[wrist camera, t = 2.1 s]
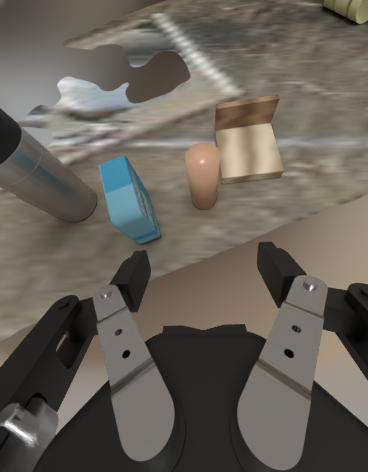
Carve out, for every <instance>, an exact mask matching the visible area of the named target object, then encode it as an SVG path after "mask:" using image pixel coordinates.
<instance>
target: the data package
mask: <svg viewBox="0 0 368 472" xmlns="http://www.w3.org/2000/svg"><path fill="white" fill-rule="evenodd" d="M99 170H100V175H101V180H102V184H103V189H104V194H105V198H106V203H107V208H108V212H109V216H110V219H111V221H112V223H113V225H114V226H115V227H116V228H117V229H119V230H120V231H122V232H123V233H125V234H126V235H127V236H129V237H130V238H132V239H133V240H134V241H136V242H137V243H139V244H142V243H144V242H147V241H150V240H152V239H155V238H158V237H160V235H161V234H160V230H159V227H158V224H157V221H156V218H155V215H154V212H153V208H152V205H151V202H150V199H149V196H148V193H147V191H146V189H145V187H144V186H143V184H142V182H141V181H140V179H139V177H138V176H137V174H136V172H135V171H134V169H133V167H132V166H131V164H130V162H129V161H128V159H127V157H126V156H121V157H118V158H116V159H113V160H110V161H108V162H105V163H102V164H100V165H99Z"/></svg>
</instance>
